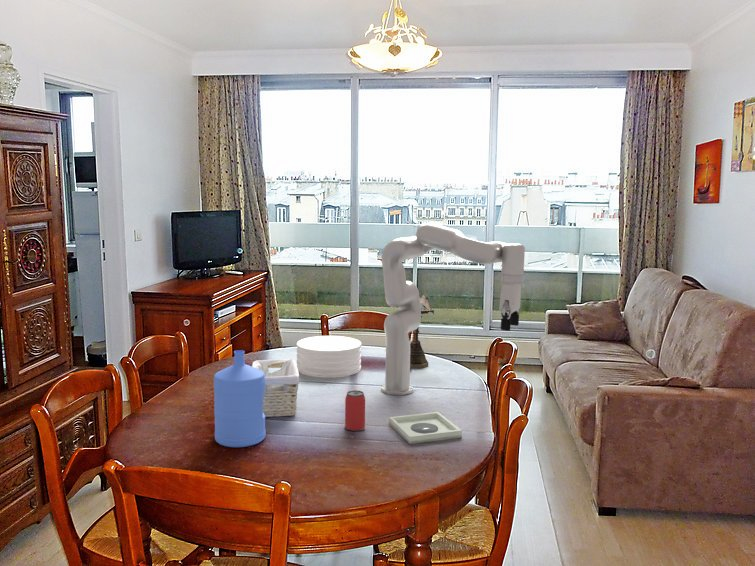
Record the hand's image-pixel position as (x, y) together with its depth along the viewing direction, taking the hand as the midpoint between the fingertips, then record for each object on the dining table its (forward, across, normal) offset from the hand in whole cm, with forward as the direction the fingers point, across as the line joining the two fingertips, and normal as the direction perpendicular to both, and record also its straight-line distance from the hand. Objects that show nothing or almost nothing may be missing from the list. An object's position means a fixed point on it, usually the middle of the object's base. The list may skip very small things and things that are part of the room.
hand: (509, 327), depth 226 cm
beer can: (+31, +41, -38) cm, 64 cm away
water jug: (+31, +67, -64) cm, 98 cm away
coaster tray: (+31, +31, -18) cm, 47 cm away
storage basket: (+31, +38, -73) cm, 88 cm away
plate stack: (+31, -14, -84) cm, 91 cm away
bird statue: (+31, -38, -52) cm, 72 cm away
